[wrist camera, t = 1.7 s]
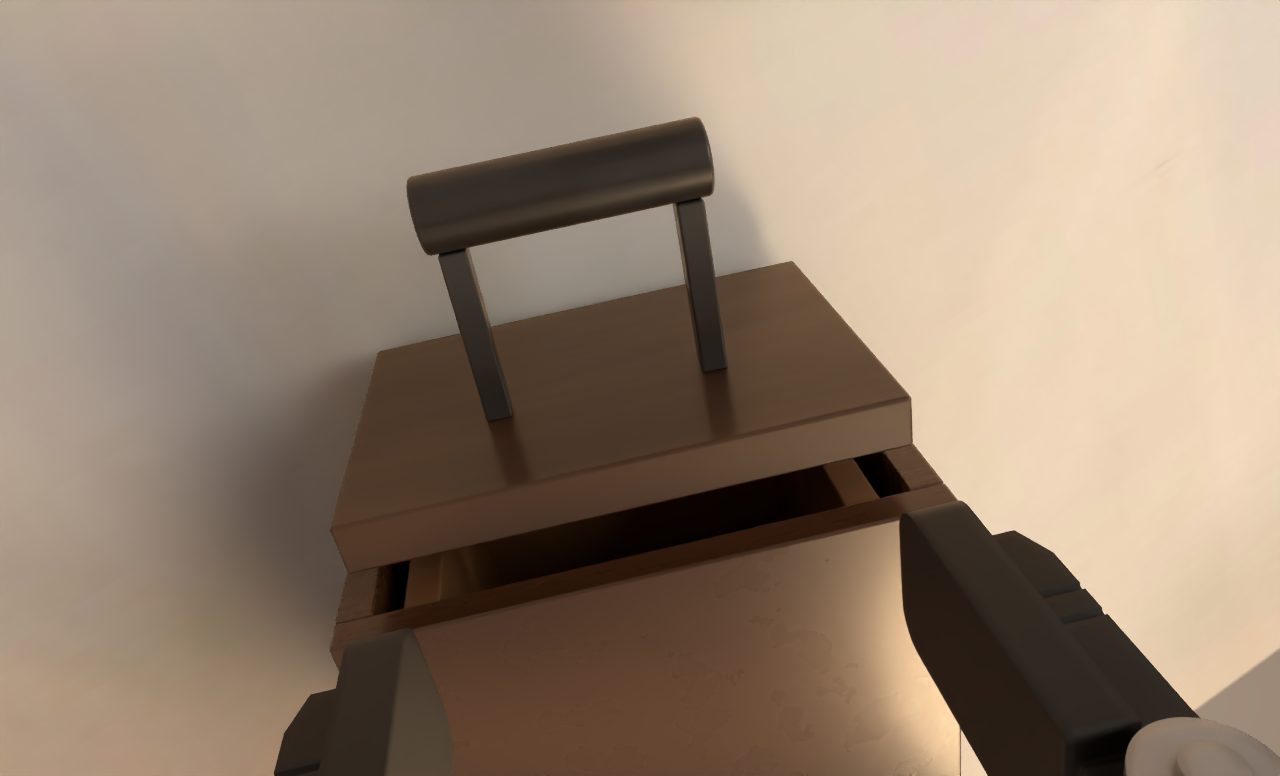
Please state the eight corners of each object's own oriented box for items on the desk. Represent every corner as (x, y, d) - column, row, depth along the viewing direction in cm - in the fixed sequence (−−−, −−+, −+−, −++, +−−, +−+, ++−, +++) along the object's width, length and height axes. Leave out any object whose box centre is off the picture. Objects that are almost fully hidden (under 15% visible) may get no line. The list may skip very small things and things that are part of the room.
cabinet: (383, 407, 27) (327, 650, 18) (810, 312, 27) (961, 502, 18) (516, 774, 35) (523, 1069, 26) (844, 695, 35) (962, 956, 26)
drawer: (306, 151, 22) (213, 263, 15) (772, 53, 23) (904, 116, 15) (511, 730, 32) (515, 968, 25) (831, 654, 33) (927, 864, 25)
